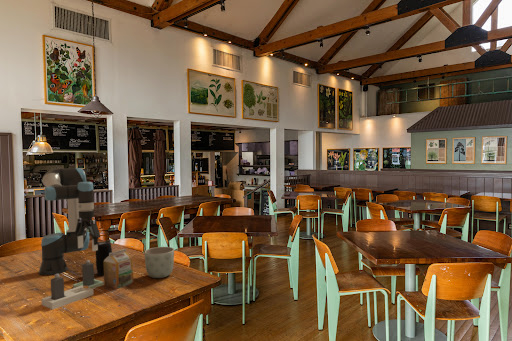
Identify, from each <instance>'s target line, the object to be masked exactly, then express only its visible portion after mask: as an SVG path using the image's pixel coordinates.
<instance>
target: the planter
mask: <svg viewBox="0 0 512 341" xmlns="http://www.w3.org/2000/svg"><path fill="white" fill-rule="evenodd" d="M174 260H175V248H173V247H170V246H157V247H151V248H148V249H146V250H144V261H145V262H144V263H145V264H144V265H145V270H146V273H147V275H148V276H149V277H150V278H153V279H162V278H166V277H168V276H170V275H171V274H172V272H173V270H174Z"/></svg>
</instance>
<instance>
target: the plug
mask: <svg viewBox="0 0 512 341" xmlns="http://www.w3.org/2000/svg"><path fill="white" fill-rule="evenodd" d="M81 266H82V267H81V268H82V282H83V286H91V285H94V279H95V273H94V272H95V270H94V263H93V262H91V260H90V259H87V260H85V263H82V265H81Z"/></svg>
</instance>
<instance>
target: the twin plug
mask: <svg viewBox="0 0 512 341" xmlns="http://www.w3.org/2000/svg"><path fill="white" fill-rule="evenodd" d="M64 291H65V282H64V277H62V276H60V273H59V274H54V277H53V278H50V296H51V299H53V300H57V299H60V298H63V297H64Z"/></svg>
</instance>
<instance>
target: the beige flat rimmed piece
mask: <svg viewBox="0 0 512 341" xmlns="http://www.w3.org/2000/svg"><path fill="white" fill-rule="evenodd" d="M92 296H94V288H93V289H92V288H89V286H83V285H82V286H79V287H76V288H69V289H67V290H64V297H63V298H60V299H57V300H53V299H51V295H49V296H46V297H43V298H41V306H43V307H45V308H47V309H50V310H55V309H58V308H61V307H64V306H66V305H69V304H72V303H75V302H78V301H81V300H83V299H86V298H89V297H92Z"/></svg>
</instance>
